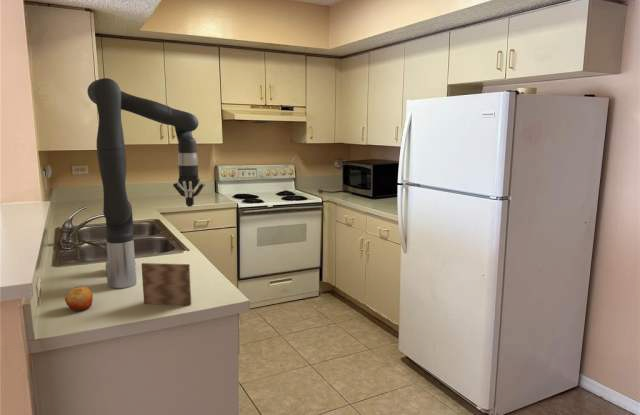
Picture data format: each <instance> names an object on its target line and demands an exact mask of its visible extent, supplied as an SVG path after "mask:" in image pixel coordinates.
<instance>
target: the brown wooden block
mask: <svg viewBox="0 0 640 415" xmlns="http://www.w3.org/2000/svg"><path fill="white" fill-rule="evenodd" d="M190 266H191V265H190V263H160V262H159V263H155V262H154V263H153V262H152V263H151V262H150V263H149V262H142V263H141V276H142V279H141V280H142V291H143V304H145V305H177V306H178V305H180V306H190V305H192V293H191V291H192V289H191V268H190Z"/></svg>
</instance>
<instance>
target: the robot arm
mask: <svg viewBox="0 0 640 415" xmlns="http://www.w3.org/2000/svg"><path fill="white" fill-rule="evenodd" d="M86 92H87V97H88V98H89V100H90V101H91V102H92V103H93V104H95V105H96V108H97V114H98V128H97V134H96V135H97V136H96V153H97V162H98V168H99V174H100V178H101V183H102V191H103V208H102V209H103V212H102V213H103V216H104V218H105V226H106V227H105V228H106V229H105V230H106V231H105V232H106V233H105V239H106V247H107V249H106V251H107V252H106V253H107V260H108V261H106V262H105V266H106V267H105V270H106V281H107V282H106V284H107V287H109V288H113V289H126V288H130V287H132V286H135V285H136V284H137V272H136V271H137V269H136V268H137V267H136V265H135V263H136V255H135V242H134V241H135V239H134V223H133V222H134V219H133V218H134V217H133V208H132V204H131V202H130V201H129V198H128V195H127V187H126V179H127V154H126V153H127V152H126V146H125V145H126V144H125V136H124V131H123V130H124V129H123V124H122V111H126V112H128V113H131V114H132V113H133V114H135V115H138V116H140V117H143V118H146V119H148V120H151V121H154V122H157V123H160V124H162V125H169V126H173V127H174V132H175V134H176V139H177V143H178V144H177V147H178V149H177V150H178V157H177V162H178V178H177V179H178V180H177V181H176V183H173V185H172V186H173V188H175V190H176V191H177V192H178V193H179V195H180V196H181V197H184V198H185V206H187V207H189V208H191V207H193V206H194V204H195V202H194V201H195V200H194V199H195V197H197V196H199V194H200V193H201V192H202V190H203V189H204V188H205V186H206V184H205V183H202V182H201V181H200V177H199V160H198V153H197V151H198V150H197V149H198V148H197V140H196V138H194V137H193V132H194V131H195V130H197V128H198V127H199V119H198V118H197V116H195V115H194V114H192V113H190V112H186V111H185V110H180V109H176V108H173V107H171V106H169V105H166V104H164V103H161V102H159V101H155V100H152V99H148V98H143V97H140V96H136V95H132V94H130V93H127V92H124V91H122V90H121V88H120V85H118V83H117V82H116V81H115V80H114V79H111V78H108V77H105V78H99V79H96V80H94V81H92V82H91V83H90V84H89V85H88V87H87V91H86ZM196 187H197V188H196ZM195 189H196V190H195Z"/></svg>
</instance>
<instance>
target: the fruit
mask: <svg viewBox="0 0 640 415" xmlns="http://www.w3.org/2000/svg"><path fill="white" fill-rule="evenodd" d="M93 297H94V296H93V292H92V291H91V289H90V288H89V287H87V286H80V287H75V288H72V289H71V290H70V291H69V292H68V293H66V295H65V298H64V302H65V304H66V306H67V307H68V308H69V309H70V310H71V311H85V310H88V309H89V308H91V306H92V304H93V301H94V300H93Z"/></svg>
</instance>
